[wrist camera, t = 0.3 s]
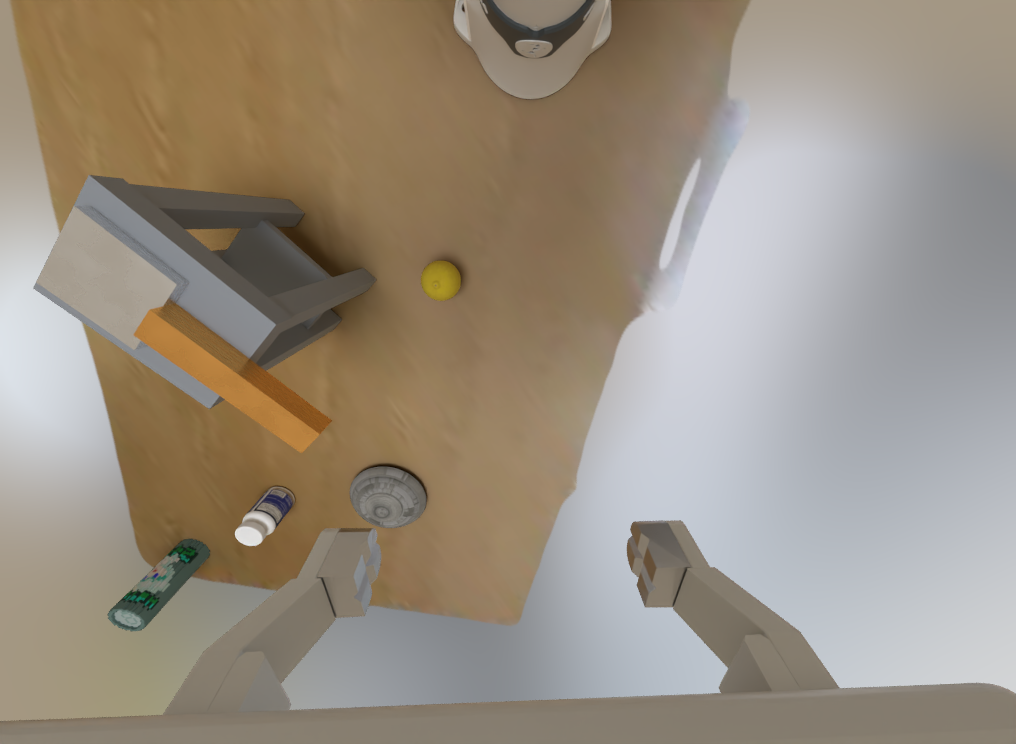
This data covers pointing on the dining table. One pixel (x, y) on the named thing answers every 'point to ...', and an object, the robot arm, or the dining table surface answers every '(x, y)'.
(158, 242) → the stool
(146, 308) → the turner
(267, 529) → the pill bottle
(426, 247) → the dining table surface
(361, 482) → the flying saucer
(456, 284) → the lemon
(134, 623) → the can
